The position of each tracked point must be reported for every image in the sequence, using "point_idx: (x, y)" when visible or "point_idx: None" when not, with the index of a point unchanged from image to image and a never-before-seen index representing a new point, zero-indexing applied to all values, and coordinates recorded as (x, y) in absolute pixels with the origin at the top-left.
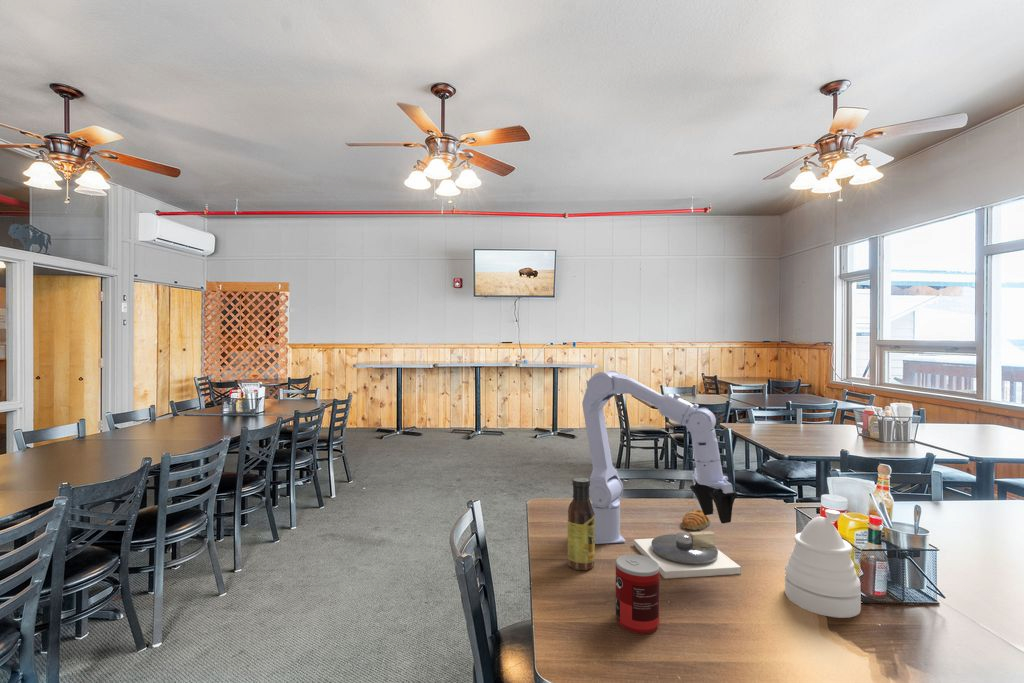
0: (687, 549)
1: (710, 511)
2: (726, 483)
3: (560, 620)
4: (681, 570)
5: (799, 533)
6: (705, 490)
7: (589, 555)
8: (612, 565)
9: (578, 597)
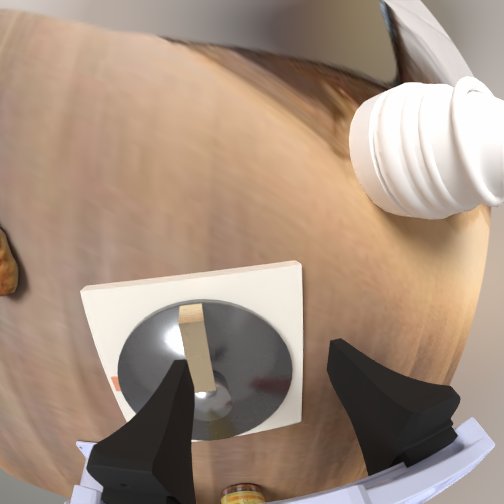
0: (227, 383)
1: (188, 376)
2: (450, 469)
3: (357, 478)
4: (301, 397)
5: (473, 160)
6: (179, 471)
7: (263, 501)
8: (238, 467)
9: (323, 480)
